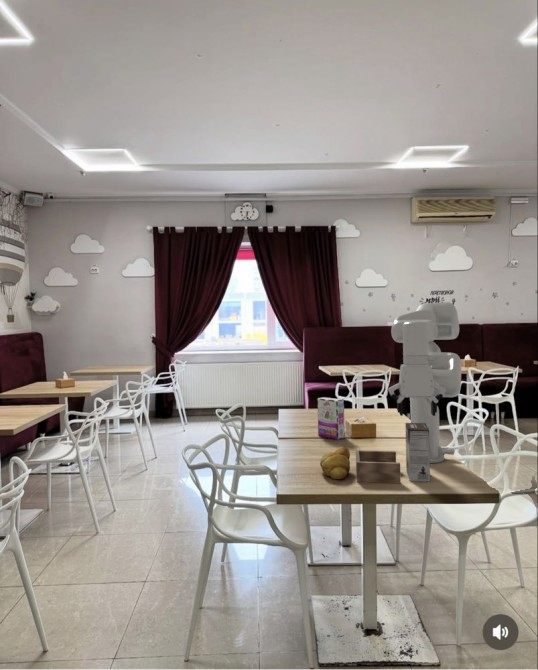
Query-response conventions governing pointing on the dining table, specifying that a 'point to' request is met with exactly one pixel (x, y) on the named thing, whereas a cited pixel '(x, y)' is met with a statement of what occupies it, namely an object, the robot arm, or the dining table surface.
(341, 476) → the bread roll
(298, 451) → the dining table surface
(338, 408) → the candy bar box
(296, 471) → the dining table surface
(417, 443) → the coffee box
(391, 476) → the open side box
